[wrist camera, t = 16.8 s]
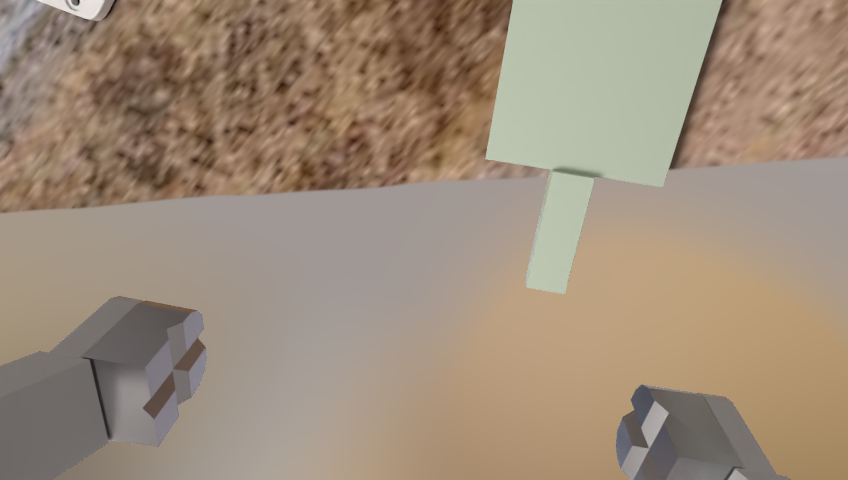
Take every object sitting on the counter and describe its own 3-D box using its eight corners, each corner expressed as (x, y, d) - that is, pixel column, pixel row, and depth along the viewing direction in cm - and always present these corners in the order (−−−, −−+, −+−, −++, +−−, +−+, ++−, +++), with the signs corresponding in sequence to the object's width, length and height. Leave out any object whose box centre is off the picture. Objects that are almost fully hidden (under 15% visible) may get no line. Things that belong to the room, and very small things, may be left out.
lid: (466, 267, 49) (464, 276, 47) (519, -34, 39) (519, -38, 37) (623, 295, 47) (628, 305, 45) (719, -9, 37) (730, -12, 36)
